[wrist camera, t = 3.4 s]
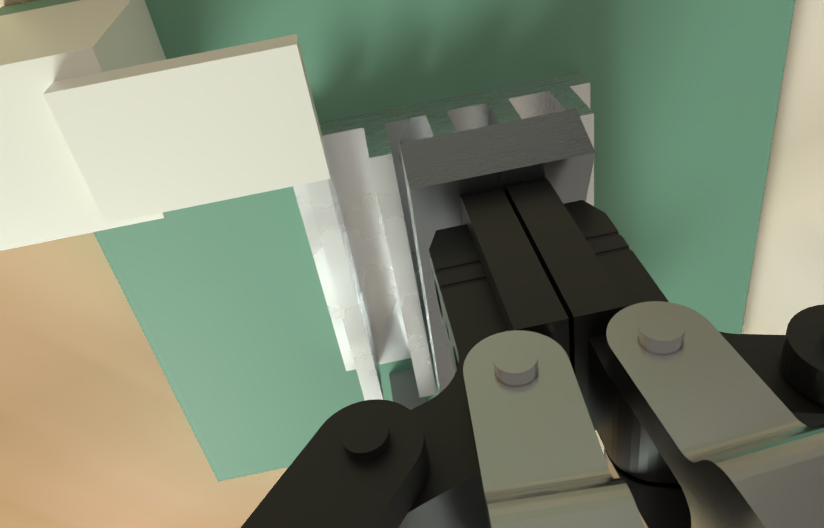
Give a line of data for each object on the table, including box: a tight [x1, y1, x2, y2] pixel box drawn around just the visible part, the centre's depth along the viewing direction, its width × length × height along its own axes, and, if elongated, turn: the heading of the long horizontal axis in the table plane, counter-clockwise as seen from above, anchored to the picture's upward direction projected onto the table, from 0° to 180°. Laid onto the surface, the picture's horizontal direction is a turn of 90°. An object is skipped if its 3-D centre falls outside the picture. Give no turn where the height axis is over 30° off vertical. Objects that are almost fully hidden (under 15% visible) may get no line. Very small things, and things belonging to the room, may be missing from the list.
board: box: [0, 0, 795, 481], centre depth 22 cm, size 22×19×7 cm
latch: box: [0, 0, 330, 251], centre depth 17 cm, size 8×4×6 cm, turn 98°
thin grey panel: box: [399, 108, 595, 393], centre depth 18 cm, size 16×3×1 cm, turn 9°
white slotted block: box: [293, 71, 594, 401], centre depth 22 cm, size 9×9×3 cm
